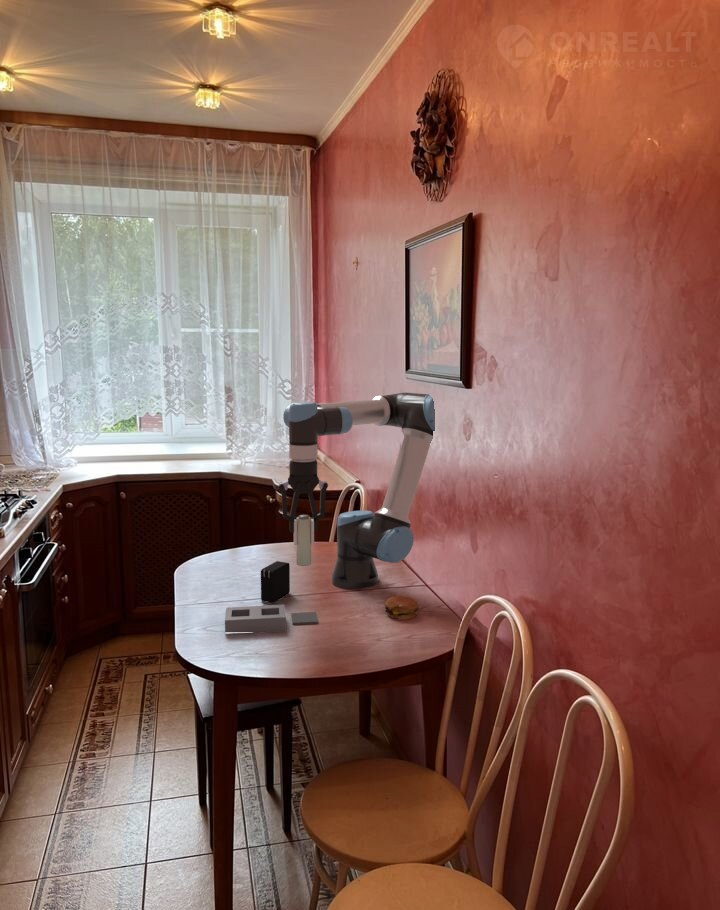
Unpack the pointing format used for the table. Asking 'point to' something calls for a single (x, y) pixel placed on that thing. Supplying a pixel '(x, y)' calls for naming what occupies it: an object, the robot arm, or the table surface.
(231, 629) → the gray cinder block
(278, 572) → the electronic device
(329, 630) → the table surface
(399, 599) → the burger
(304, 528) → the plug
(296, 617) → the coaster
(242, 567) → the table surface
